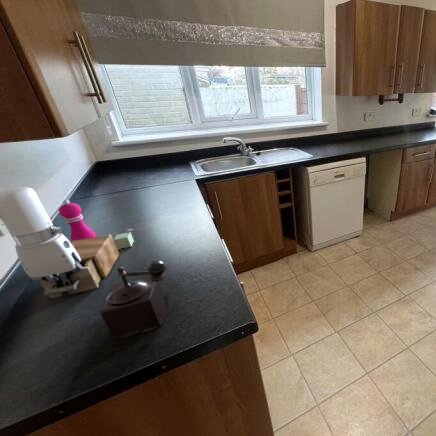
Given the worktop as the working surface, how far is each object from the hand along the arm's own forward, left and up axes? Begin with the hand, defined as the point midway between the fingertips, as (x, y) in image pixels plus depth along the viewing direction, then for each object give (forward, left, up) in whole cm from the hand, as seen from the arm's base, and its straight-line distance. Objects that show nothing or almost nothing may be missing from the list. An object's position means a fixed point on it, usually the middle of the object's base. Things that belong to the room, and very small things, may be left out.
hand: (68, 291), depth 76 cm
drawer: (0, +6, -3) cm, 7 cm away
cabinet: (0, +15, -3) cm, 15 cm away
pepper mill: (-8, +36, -4) cm, 37 cm away
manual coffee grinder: (+23, -16, -4) cm, 28 cm away
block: (+6, +31, -3) cm, 31 cm away
